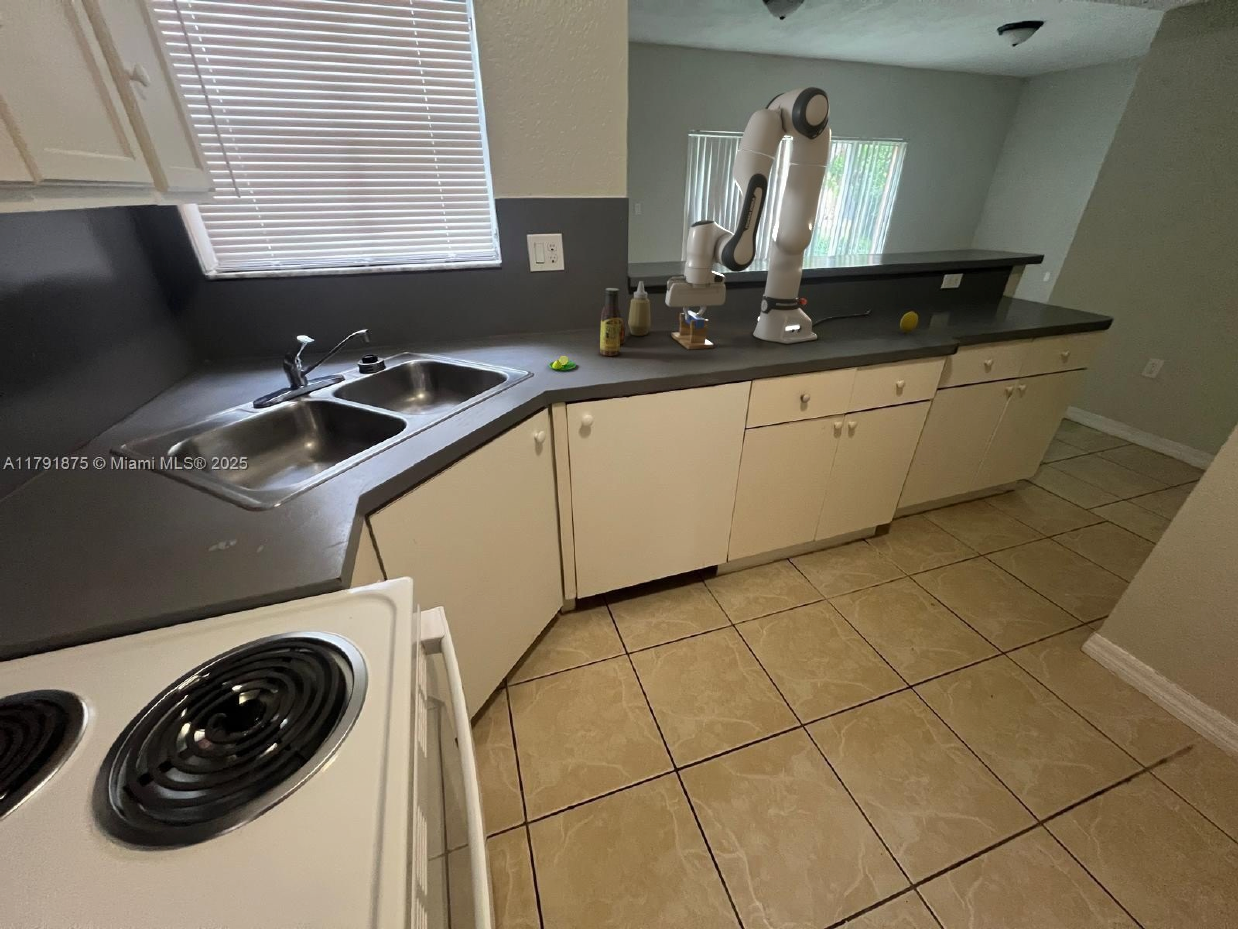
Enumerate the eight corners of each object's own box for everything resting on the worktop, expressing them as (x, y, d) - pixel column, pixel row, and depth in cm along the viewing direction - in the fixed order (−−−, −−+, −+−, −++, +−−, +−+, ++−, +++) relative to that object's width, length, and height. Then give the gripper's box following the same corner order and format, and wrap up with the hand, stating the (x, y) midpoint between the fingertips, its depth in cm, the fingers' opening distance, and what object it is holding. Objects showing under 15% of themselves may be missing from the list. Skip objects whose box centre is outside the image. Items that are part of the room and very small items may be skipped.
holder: (671, 336, 174) (672, 311, 169) (694, 334, 176) (696, 310, 171) (688, 349, 160) (690, 323, 156) (713, 347, 163) (716, 321, 158)
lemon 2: (555, 361, 148) (555, 352, 146) (579, 364, 146) (579, 355, 144) (544, 369, 141) (543, 360, 140) (569, 373, 139) (569, 363, 138)
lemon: (914, 332, 184) (921, 310, 180) (913, 335, 180) (920, 313, 176) (898, 329, 187) (905, 308, 183) (896, 333, 183) (903, 311, 179)
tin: (603, 335, 172) (603, 311, 168) (611, 334, 173) (612, 310, 169) (617, 348, 160) (618, 322, 156) (626, 347, 161) (627, 321, 157)
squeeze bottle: (650, 331, 178) (653, 279, 169) (649, 337, 171) (652, 284, 162) (628, 330, 179) (630, 278, 170) (626, 336, 172) (628, 283, 163)
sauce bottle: (605, 358, 151) (605, 291, 141) (596, 352, 156) (596, 287, 146) (623, 355, 154) (625, 290, 144) (614, 349, 159) (615, 286, 148)
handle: (703, 328, 160) (704, 319, 159) (696, 328, 160) (697, 319, 158) (689, 319, 170) (690, 310, 169) (682, 319, 170) (683, 310, 168)
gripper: (671, 278, 152) (667, 323, 159) (730, 277, 157) (724, 320, 164) (664, 274, 157) (661, 318, 164) (721, 273, 162) (716, 315, 169)
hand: (693, 319), depth 164 cm, fingers closed on handle, 3 cm apart
